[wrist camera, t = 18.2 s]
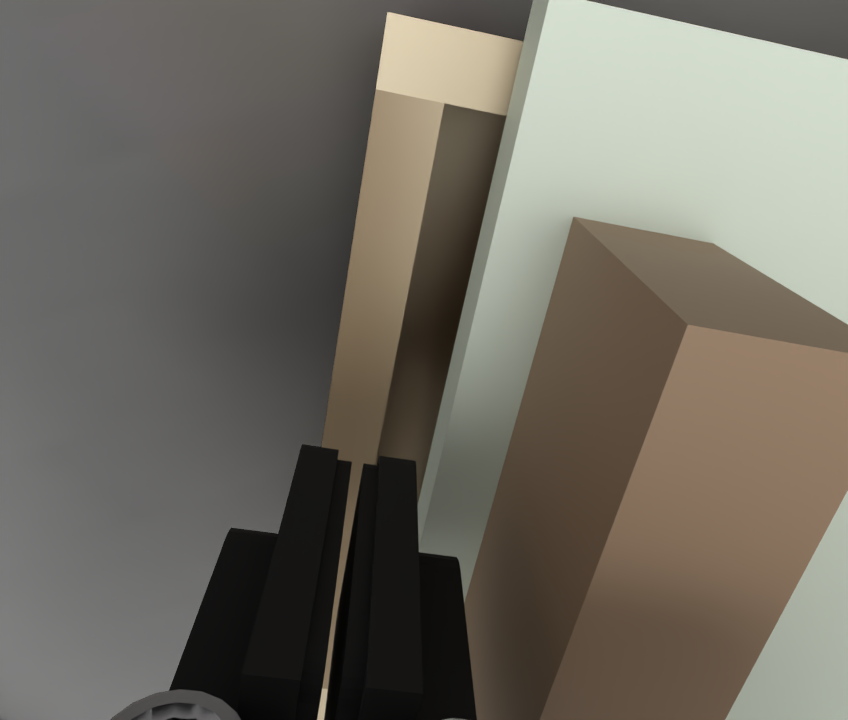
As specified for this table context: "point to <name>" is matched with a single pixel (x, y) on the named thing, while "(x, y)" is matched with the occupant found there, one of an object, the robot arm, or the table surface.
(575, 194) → the lid
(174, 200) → the table surface
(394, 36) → the tan wooden low box
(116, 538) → the table surface
